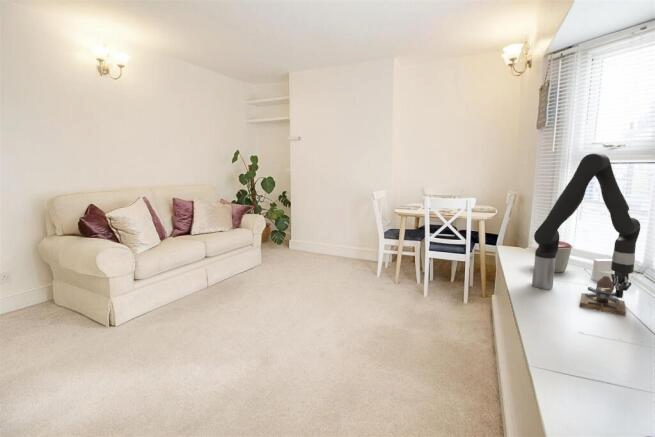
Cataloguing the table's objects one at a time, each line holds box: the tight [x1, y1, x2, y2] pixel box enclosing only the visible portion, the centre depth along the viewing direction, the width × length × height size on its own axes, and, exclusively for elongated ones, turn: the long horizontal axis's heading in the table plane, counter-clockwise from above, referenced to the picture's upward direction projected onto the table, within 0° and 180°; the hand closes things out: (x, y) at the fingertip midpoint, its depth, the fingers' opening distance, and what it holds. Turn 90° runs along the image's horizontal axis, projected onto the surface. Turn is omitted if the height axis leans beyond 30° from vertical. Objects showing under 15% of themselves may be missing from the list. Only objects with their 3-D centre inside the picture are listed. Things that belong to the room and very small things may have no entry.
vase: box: [596, 276, 615, 292], centre depth 165 cm, size 7×7×9 cm
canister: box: [537, 240, 574, 273], centre depth 200 cm, size 18×18×21 cm
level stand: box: [579, 292, 627, 317], centre depth 151 cm, size 16×14×3 cm
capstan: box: [584, 286, 620, 303], centre depth 150 cm, size 17×16×6 cm
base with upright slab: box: [591, 258, 614, 283], centre depth 182 cm, size 9×9×12 cm
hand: (618, 297), depth 148 cm, fingers closed
